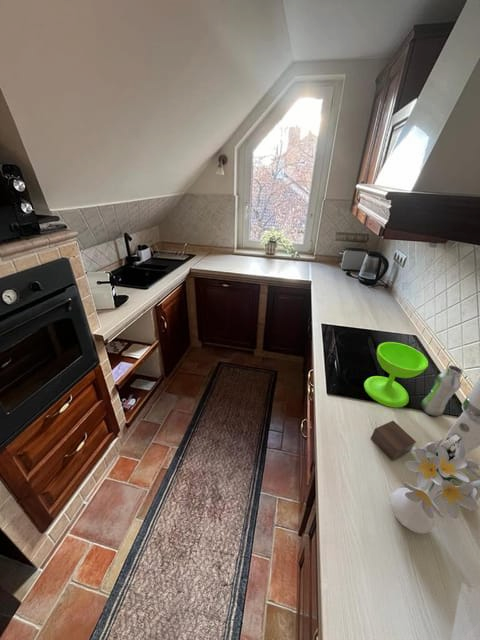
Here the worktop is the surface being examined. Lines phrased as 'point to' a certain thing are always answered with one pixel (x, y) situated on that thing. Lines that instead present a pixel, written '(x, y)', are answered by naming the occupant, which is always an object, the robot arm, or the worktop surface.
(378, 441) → the walnut block
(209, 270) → the worktop surface
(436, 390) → the plastic bottle
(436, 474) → the flower vase
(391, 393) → the wineglass
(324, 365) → the worktop surface
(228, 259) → the worktop surface
